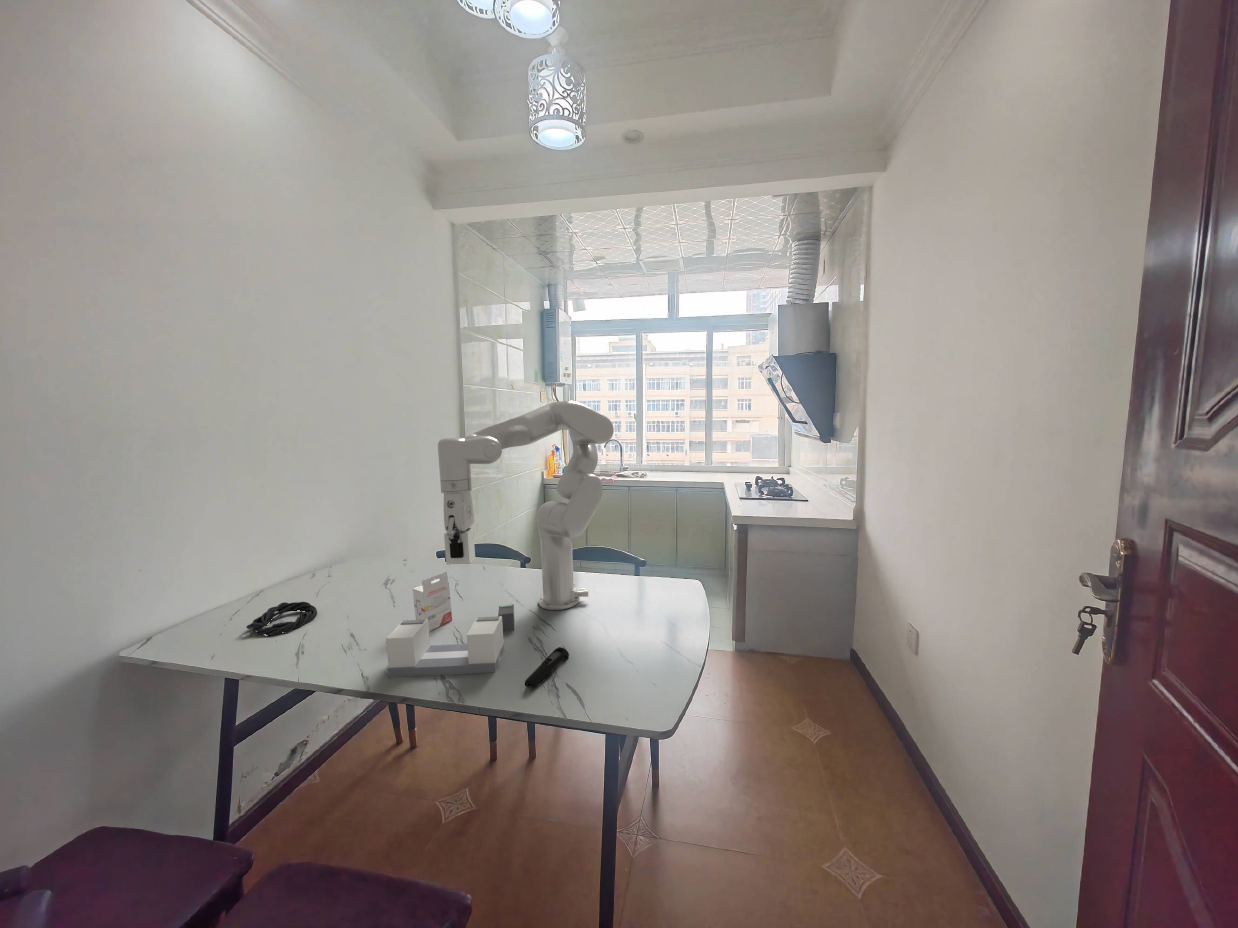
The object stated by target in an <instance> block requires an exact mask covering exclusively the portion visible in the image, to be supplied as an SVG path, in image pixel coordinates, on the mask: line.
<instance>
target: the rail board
mask: <svg viewBox="0 0 1238 928" xmlns="http://www.w3.org/2000/svg"><path fill="white" fill-rule="evenodd" d="M385 644H386V653H387V665H388V667H387V677H388V678H402V677H403V678H404V677H406V678H407V677H424V676H441V675H442V676H444V675H445V676H446V675H447V676H448V675H464V674H465V675H466V674H486V673H487V674H488V673H496V671H497V669H498V666H499V664H500V662H501V659H502V656H503V654H504V652H505V642H504V632H503V624H502V616H498V615H495V616H479V617H477V618H476V619H475V620H474V622H473V623H472V625H471V627H470V629H469V630H468V632H467V634H466V643H458V644H438V645H431V642H430V631H429V626H428V619H426V620H416V619H411V620H409V619H407V620H406V619H405V620H402V621H400V623H399V624H398V625H397V626H396V627H395V628H394V630H392V631H391V633H390V634H389V635H388V636H387V637H386V638H385Z"/></svg>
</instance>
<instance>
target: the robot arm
mask: <svg viewBox="0 0 1238 928" xmlns="http://www.w3.org/2000/svg"><path fill="white" fill-rule="evenodd" d="M564 430H565V431H566V430H567V431H568V435H569V437H570V440H571V444H572V454H571V457H570V458H569V461H568V463H567V465H566V467H565V469H564V470H563V472H562V474H561V476H560V477H559V480H558V481H557V483H556V484H557V485H556V488H555V489H556V494H557V496H558V497H559V498H560V499H562V500H564V501H566V502H567V503H566V502H562V501H557V500H549V501H547V502H544V503H543V504H541V506H539V508H538V510H537V512H536V525H537V526H536V527H537V530H538V535H539V541H540V542H539V543H540V554H541V555H540V556H541V557H540V559H541V577H542V580H541V581H542V595H541V596H539V598H538V600H537V603H538V605H539V607H540V608H541V609H545V610H548V611H549V610H550V611H560V610H566V609H569V608H572V607H574V606H576V605H577V604H578V603H579V602H580V598H581V597H583V598H586V597H589V590H588V589H587V590H585V589H586V588H584V587H583V588H578V587H576V583H574V560H573V543H572V539H574V538H575V539H576V538H578V537H580V536H582V534H583V533H584V532H585V531H586V529H587V528H588V525H589V524H590V522H591V520H592V518H593V516H594V514H595V512H596V510H597V508H598V506H599V503H600V501H601V500H602V496H603V490H604V489H603V488H604V487H603V483H602V480H601V479H600V477H599V476H597V475H596V474H594V472H595V470H596V469H597V465H598V463H599V455H598V451H597V450H598V449H597V446H596V444H597V445H599V444H605V443H606V444H607V443H608V442H609V441H610V440H611V439H612V438H613V435H614V432H615V428H614V425H613V423H612V421H611V419H610V418H608V417H607V416H606V415H604V414H602V413H601V412H598V411H596V410H595V409H593V408H591V407H589V406H587V405H585V404H583V403H580V402H578V401H574V400H561V401H560V400H559V401H553V402H550V403H547V404H544V405H542V406H540V407H539V408H538V407H537V408H536V409H534V410H530V411H529V412H526V413H524V414H521V415H519V416H516V417H513V418H510V419H507V420H505V421H502V422H499V423H496V424H493V425H490V426H487V427H485V428H482V429H480V430H477V431H475V432H473V433H470V434H469V435H466V436H465V437H448V438H445V437H444V438H441V439H440V440H439V441H438V442H437V453H438V466H439V467H438V469H439V481H440V482H439V484H440V493H441V494H443V524H444V525H443V526H444V529H445V532H447V536H448V537H449V543H450V557H451V558H463V556H464V553H463V542H461V532H462V531H465V530H466V529H468V528H471V527H472V526H473V525H474V523H475V516H474V506H473V505H474V504H473V498H472V493H471V491H472V490H473V487H472V473H471V472H472V471H471V465H491V464H494V463H496V462H497V461H498V460H499V459H500V458H501V456H502V454H503V450H504V449H509V448H513V447H515V448H516V447H522V446H527V445H531V444H534V443H536V442H538V441H540V440H542V439H544V438H547V437H549V436H550V435H553V434H555V433H558V432H559V431H564ZM454 528H458V530H455V531H454ZM455 533H458V536H457V535H456V534H455Z"/></svg>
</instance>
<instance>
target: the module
mask: <svg viewBox="0 0 1238 928" xmlns="http://www.w3.org/2000/svg"><path fill="white" fill-rule="evenodd" d="M455 530H458V528H454V531H455ZM474 531H475V530H474V528H472V527H469V528H468V529H466V530H465V531H462V532H461V542H463V553H464V556H463V558H451V557H450V543H449V537H448V536H447V531H445V533H444V534H443V538H444V539H443V540H444V553H445V563H446V565H467V564H468V565H470V564H472V562H473V561H474V560H475V558H476V549H475V548H476V547H475V534H474V533H475V532H474ZM455 534H456V535H457V536H458V533H455Z"/></svg>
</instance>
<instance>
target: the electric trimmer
mask: <svg viewBox="0 0 1238 928" xmlns="http://www.w3.org/2000/svg"><path fill="white" fill-rule="evenodd" d="M569 656H570V653H569V652H568V650H567V649H566V648H565V647H561V646H560V647H557V648H555V649H554V650H553V651H552V652H551V653H549V655H548V656H547V657H546V658H545V659H544V660H543V661H542V663H541V664H540V665H539V666H538V667H537V668H536V669H535V670H534V671H533V672H532V673H531V674H530V675H529V676H528V677H527V678H526V679H525V681H524V686H525V687H528V688H532V689H534V688H536V687H537V686H539V685H540V684H542V683H543V682H545V681H546V680H547V679H548V678H549V677H551V676H552V673H553V670H554V669H556V668H557V666H558V665H560V664H561V662H563V661H564V660H565V659H569Z"/></svg>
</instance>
